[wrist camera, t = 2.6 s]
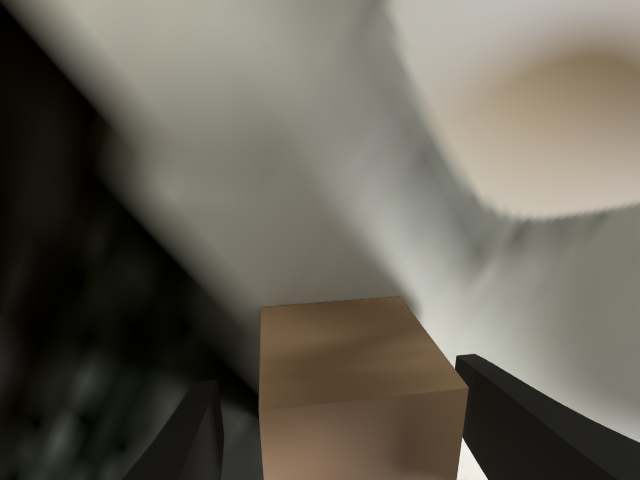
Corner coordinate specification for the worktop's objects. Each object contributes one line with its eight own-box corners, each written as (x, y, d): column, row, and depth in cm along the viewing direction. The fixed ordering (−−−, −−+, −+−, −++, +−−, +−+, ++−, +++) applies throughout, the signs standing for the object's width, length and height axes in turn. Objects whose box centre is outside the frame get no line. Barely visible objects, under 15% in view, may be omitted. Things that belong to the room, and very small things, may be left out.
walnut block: (398, 295, 12) (468, 387, 8) (392, 405, 14) (448, 534, 10) (260, 305, 12) (258, 411, 8) (268, 420, 13) (270, 563, 9)
